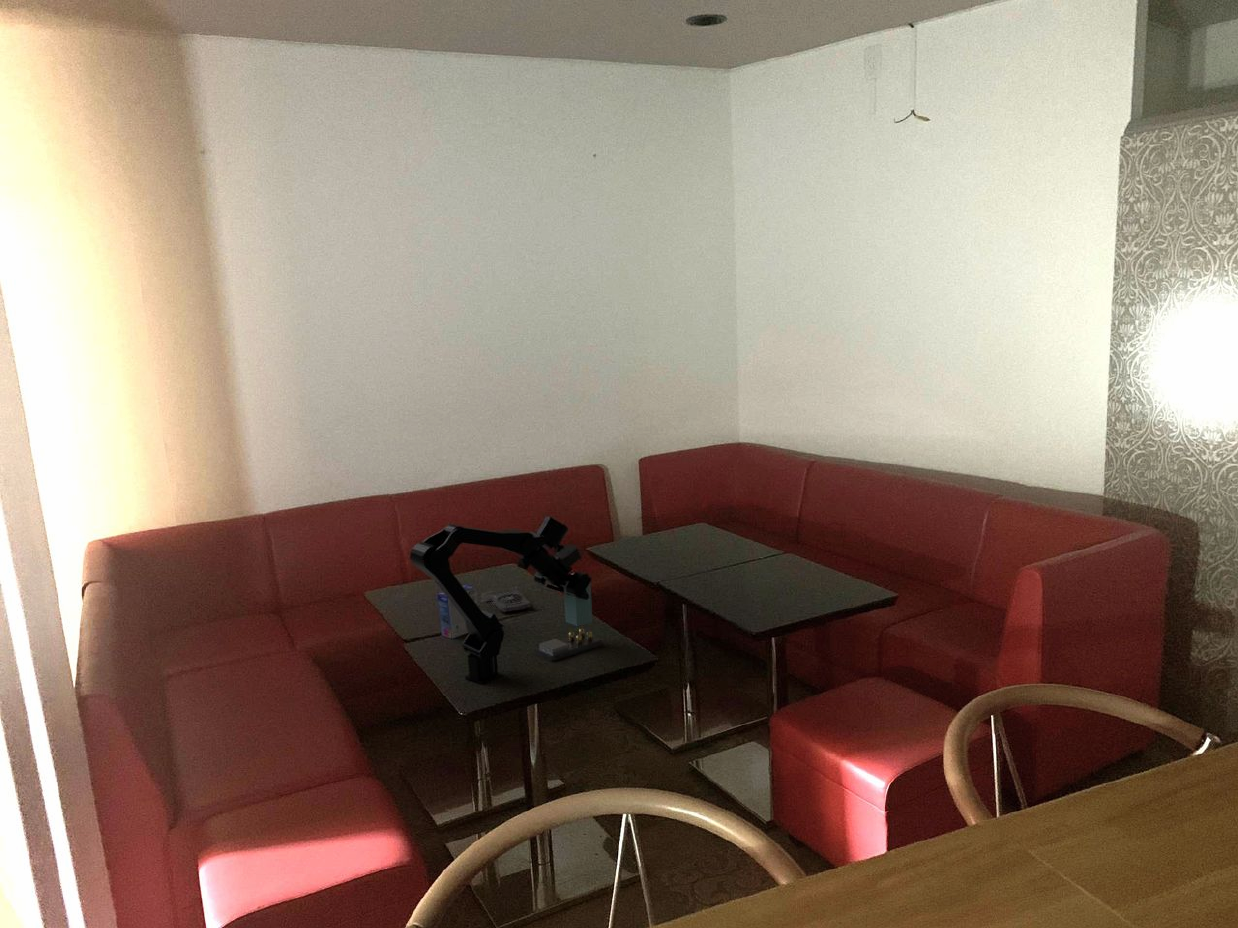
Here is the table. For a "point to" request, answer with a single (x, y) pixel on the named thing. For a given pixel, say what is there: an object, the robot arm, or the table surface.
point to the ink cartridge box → (453, 615)
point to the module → (578, 608)
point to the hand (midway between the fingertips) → (581, 595)
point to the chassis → (567, 646)
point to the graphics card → (507, 599)
